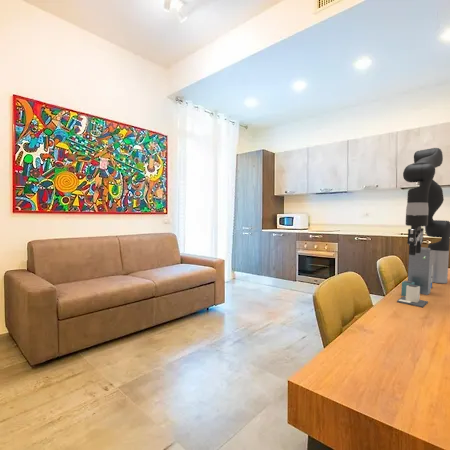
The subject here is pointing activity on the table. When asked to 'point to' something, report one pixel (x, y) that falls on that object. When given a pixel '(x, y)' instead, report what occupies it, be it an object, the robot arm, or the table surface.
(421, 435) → the table surface
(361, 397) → the table surface
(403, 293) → the block
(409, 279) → the unit
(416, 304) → the pad
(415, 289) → the block
